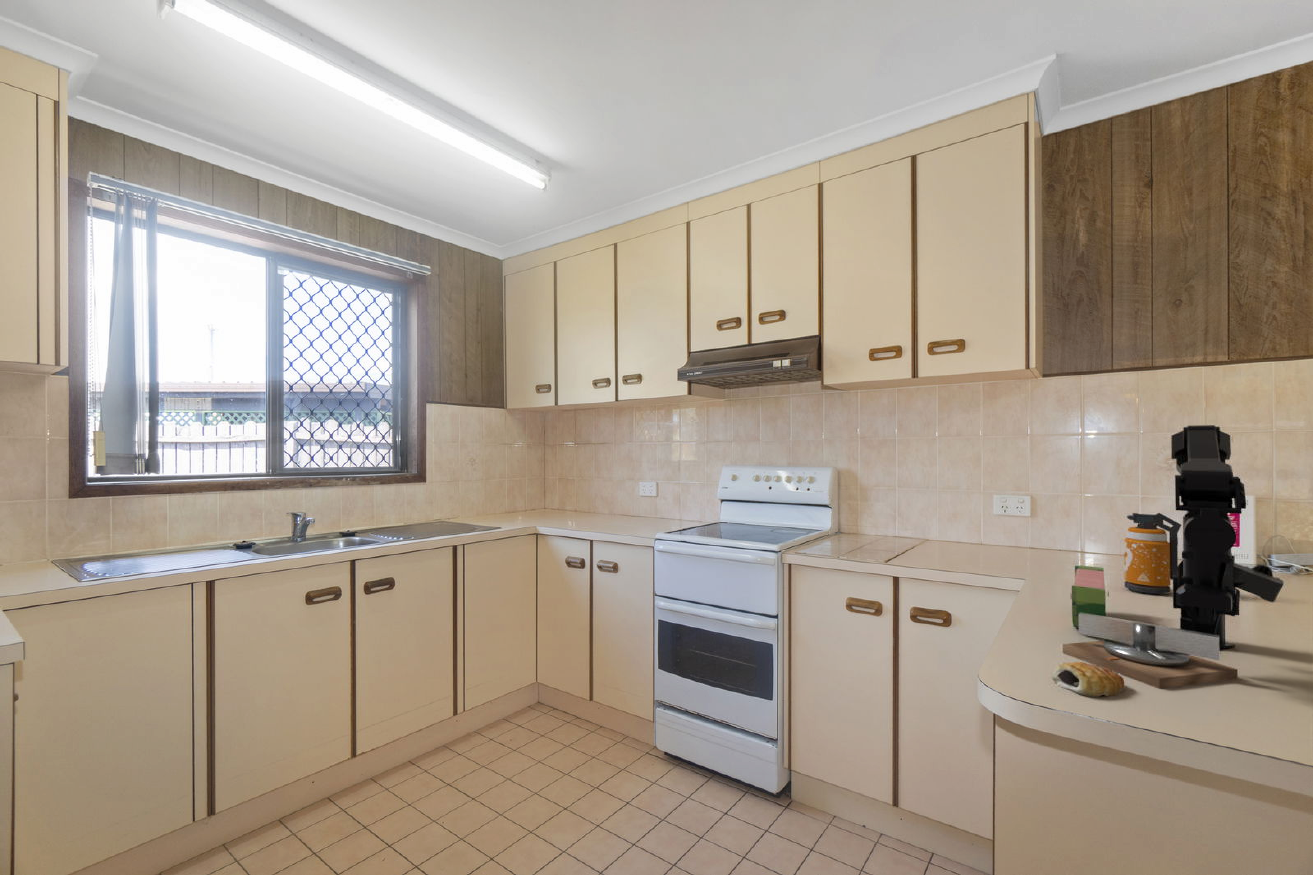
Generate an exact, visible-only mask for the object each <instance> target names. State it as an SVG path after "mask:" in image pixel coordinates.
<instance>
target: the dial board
mask: <svg viewBox="0 0 1313 875" xmlns="http://www.w3.org/2000/svg"><path fill="white" fill-rule="evenodd" d="M1104 640H1105V639H1104ZM1104 640H1095V641H1085V642H1083V641H1082V642H1074V643H1073V642H1072V643H1063V644H1062V654H1065V655H1067V656H1071V657H1074V658H1076V659H1079V660H1081V659H1082V660H1081V661H1084V660H1085V661H1084V662H1086V661H1087V662H1086V663H1088V664H1091V665H1095V664H1096V666H1097V665H1098V666H1099V667H1100V666H1101V667H1100V668H1107V669H1109V670H1111V671H1112V672H1114V673H1116V674H1119V673H1120V674H1119V675H1121V676H1124V677H1128V678H1130V679H1133V680H1136V681H1138V682H1141V683H1143V682H1144V684H1146V685H1150V686H1152V687H1154V688H1157V689H1165V688H1173V687H1182V686H1191V685H1199V683H1200V684H1206V682H1209V683H1216V682H1224V681H1230V680H1231V681H1233V680H1238V678H1239V676H1238V670H1239V669H1237V668H1235V667H1231V666H1227V665H1224V664H1221V663H1218V662H1214V661H1211V660H1208V659H1206V658H1203V657H1199V656H1194V655H1189V664H1187V665H1184V666H1160V665H1152V664H1146V663H1141V662H1136V661H1132V660H1128V659H1124V658H1121V657H1118V656H1115V655H1113V654H1111V653H1109V652H1107V651H1106V650H1105V649H1104Z"/></svg>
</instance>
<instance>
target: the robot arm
mask: <svg viewBox="0 0 1313 875" xmlns="http://www.w3.org/2000/svg"><path fill="white" fill-rule="evenodd" d="M1170 440H1171V441H1170V442H1171V445H1170V446H1171V449H1170V451H1171V454H1170V455H1171V460H1175V469H1176V471H1177V472H1178V473H1179V474H1174V491H1175V492H1174V493H1175V494H1174V496H1175V501H1174V502H1175V503H1174V504H1175V511H1182V512H1185V514H1184V515H1183V516H1182V541H1183V542H1182V551H1181V559H1182V560H1181V561H1180V563H1178V576H1174V575H1173V580H1172V608H1173V609H1179V610H1180V616H1179V617H1180V618H1179V625H1180V626H1179V627H1180V628H1179V629H1183V630H1189V631H1195V632H1201V633H1207V634H1213V635H1219V650H1221V649H1230V648H1236V644H1234V643H1231V642H1228V641H1226V616H1231V617H1236V616H1240V598H1241V590H1242V591H1245V592H1246V593H1249V594H1252V595H1255V596H1257V597H1260V598H1261V600H1264V601H1267V602H1269V603H1274V602H1275V601H1276V599H1277V597H1278V595H1279V594H1280V592H1281V590H1282V588H1283V587H1284V584H1285V583H1284V580H1282V579H1281V578H1280V577H1275V576H1274V575H1273V574H1274V573H1273V569H1272V567H1269V566H1267V565H1263V564H1262V563H1258V564H1256V565H1255V566H1253V567H1252V568H1251V567H1249V566H1245V565H1244V566H1243V565H1241V564H1239V563H1236V560H1235V557H1236V556H1235V555H1233V553H1232V549H1233V547H1234V546H1235V544H1236V541H1237V533H1236V530H1235V528H1234V527H1233V526H1232V519H1231V518H1230V517H1229V515H1228V514H1235V515H1236V514H1237V515H1238V514H1239V515H1242V512H1243V511H1242V509H1244V510H1246V509H1247V500H1246V499H1247V498H1246V491H1245V484H1244V483H1243V482H1242V481H1241V478H1240V477H1239V476H1234V473H1233V468H1232V465H1230V464H1228V463H1226V461H1229V460H1230V459H1231V454H1232V449H1231V447H1232V446H1231V445H1232V444H1231V443H1232V442H1231V435H1230V434H1229V433H1226V432H1224V431H1222V430H1221V428H1220V426H1216V425H1214V424H1213V425H1211V424H1209V425H1208V424H1206V425H1203V424H1202V425H1196V424H1195V425H1187V426H1183V428H1182V430H1181V431H1179V432H1176V433H1174V434H1172V435H1171V438H1170ZM1233 501H1234V503H1233ZM1181 503H1182V504H1181ZM1233 504H1234V507H1233Z"/></svg>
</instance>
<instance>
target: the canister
mask: <svg viewBox="0 0 1313 875" xmlns="http://www.w3.org/2000/svg"><path fill="white" fill-rule="evenodd" d="M1126 519H1128V520H1130V521H1133V523H1134V524H1137V525H1136V526H1130V527H1128V528H1127V530H1126V538H1125V539H1123V543H1124V544H1123V551H1124V553H1123V556H1124V557H1123V558H1124V560H1123V561H1124V564H1123V565H1124V566H1123V567H1124V569H1123V570H1124V576H1123V577H1124V588H1125V589H1129V590H1130V591H1132V592H1135V593H1138V594H1145V595H1150V596H1151V595H1153V596H1161V595H1162V596H1163V595H1164V594H1169V593H1171V581H1173V575H1174V576H1178V565H1179V561H1178V559H1179V558H1178V557H1179V556H1178V555H1179V554H1178V553H1179V550H1178V549H1179V548H1178V547H1179V538H1178V533H1179V531H1180V529H1181V527H1182V524H1181V523H1179V522H1177V521H1176V520H1174V519H1171V518H1169V517H1168V516H1167V515H1164V514H1162V513H1160V512H1158V513H1156V514H1152V513H1151V514H1150V513H1149V514H1148V513H1147V514H1146V513H1138V512H1133V513H1132V515H1131V514H1128V515H1126ZM1164 522H1166V523H1167V524H1170V525H1172V526H1169V525H1167V524H1164ZM1158 527H1159V528H1158ZM1167 532H1169V534H1168V533H1167ZM1168 535H1169V539H1168ZM1168 540H1169V541H1168Z"/></svg>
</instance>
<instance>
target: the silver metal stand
mask: <svg viewBox="0 0 1313 875" xmlns="http://www.w3.org/2000/svg"><path fill="white" fill-rule="evenodd" d="M1078 634H1079V635H1084V636H1089V637H1094V638H1099V639H1104V649H1105V650H1106V651H1107V652H1109V653H1111V654H1113V655H1115V656H1118V657H1121V658H1124V659H1128V660H1132V661H1136V662H1141V663H1146V664H1152V665H1160V666H1184V665H1187V664H1189V655H1192V656H1195V657H1199V658H1204V659H1211V660H1215V661H1219V660H1220V656H1221V655H1220V654H1221V653H1220V649H1219V635H1213V634H1207V633H1201V632H1195V631H1189V630H1183V629H1180V628H1178V627H1177V628H1175V627H1171V626H1166V625H1165V626H1164V625H1158V624H1155V623H1152V622H1147V621H1141V620H1135V621H1134V620H1127V619H1124V618H1123V619H1122V618H1118V617H1111V616H1100V615H1094V614H1088V613H1082V612H1080V613H1079V628H1078Z"/></svg>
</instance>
